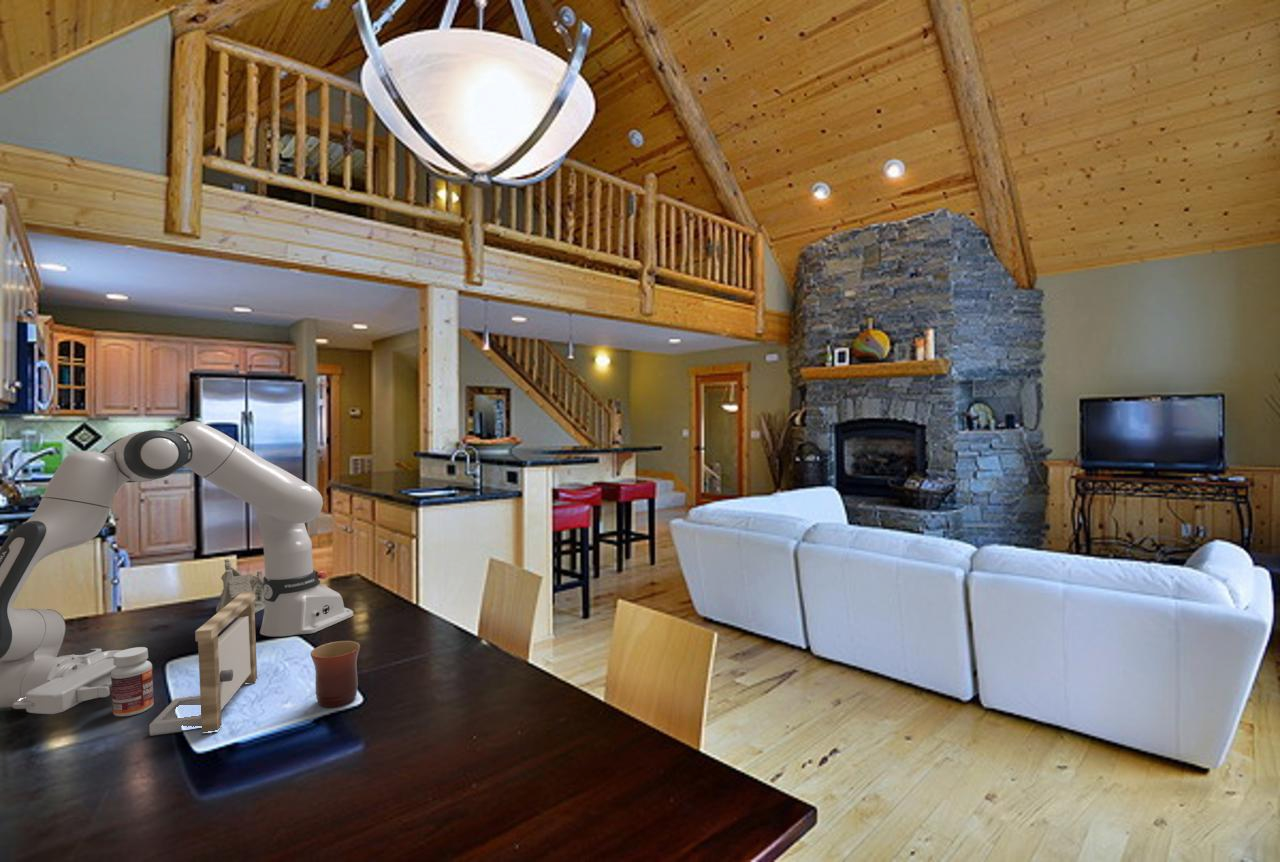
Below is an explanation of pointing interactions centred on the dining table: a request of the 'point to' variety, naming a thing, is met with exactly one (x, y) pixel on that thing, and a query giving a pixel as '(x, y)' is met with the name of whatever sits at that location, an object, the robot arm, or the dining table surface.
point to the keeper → (168, 720)
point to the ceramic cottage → (241, 587)
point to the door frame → (210, 656)
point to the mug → (336, 672)
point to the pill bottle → (132, 682)
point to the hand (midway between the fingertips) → (131, 679)
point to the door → (233, 658)
